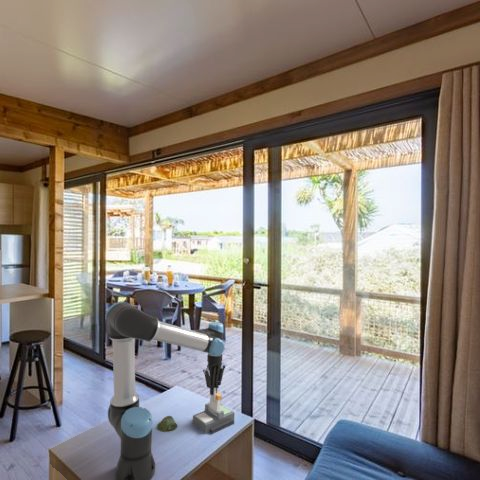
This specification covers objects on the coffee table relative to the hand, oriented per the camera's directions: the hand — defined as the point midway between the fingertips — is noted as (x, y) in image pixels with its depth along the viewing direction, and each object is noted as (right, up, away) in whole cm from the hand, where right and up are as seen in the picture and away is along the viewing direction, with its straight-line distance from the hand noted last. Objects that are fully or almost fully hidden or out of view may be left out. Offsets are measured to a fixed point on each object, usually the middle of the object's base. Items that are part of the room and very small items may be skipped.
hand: (213, 400), depth 168 cm
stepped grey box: (0, -11, +1) cm, 11 cm away
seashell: (-22, -11, -4) cm, 25 cm away
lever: (0, -6, +1) cm, 6 cm away
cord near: (+5, -11, -4) cm, 13 cm away
